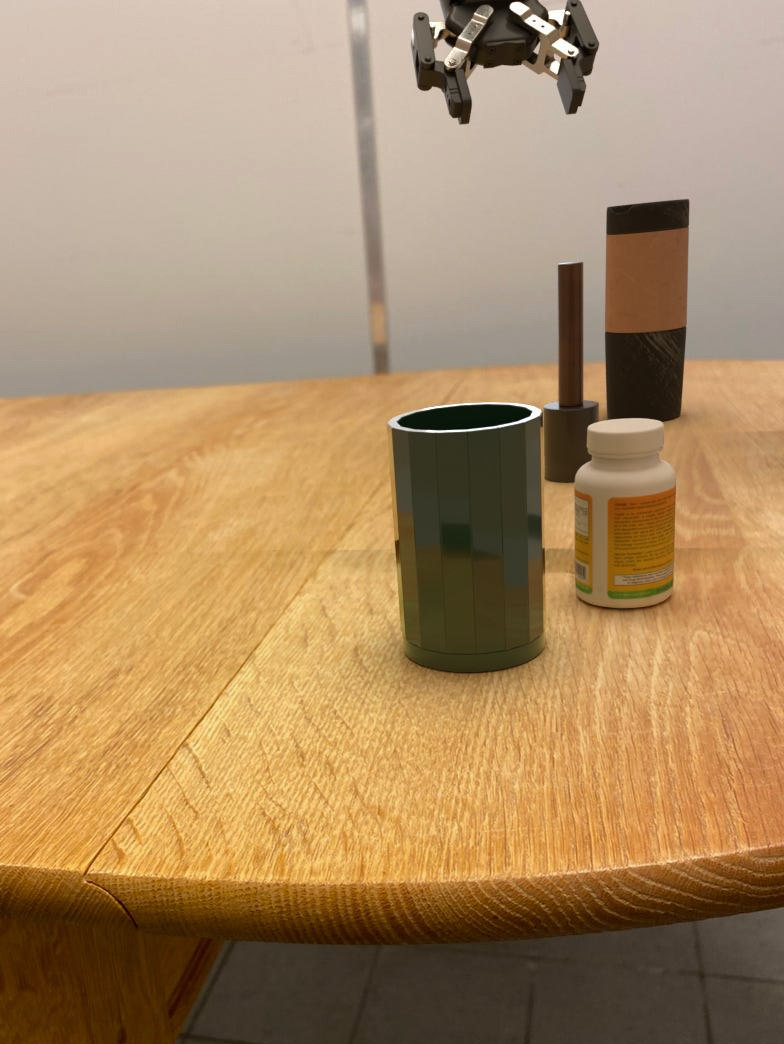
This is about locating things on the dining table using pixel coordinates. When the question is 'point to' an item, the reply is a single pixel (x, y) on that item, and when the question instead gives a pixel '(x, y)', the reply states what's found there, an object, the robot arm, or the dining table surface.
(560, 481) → the peg on round base
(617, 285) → the travel mug
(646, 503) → the supplement bottle
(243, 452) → the dining table surface
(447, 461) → the cup
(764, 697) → the dining table surface
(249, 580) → the dining table surface
